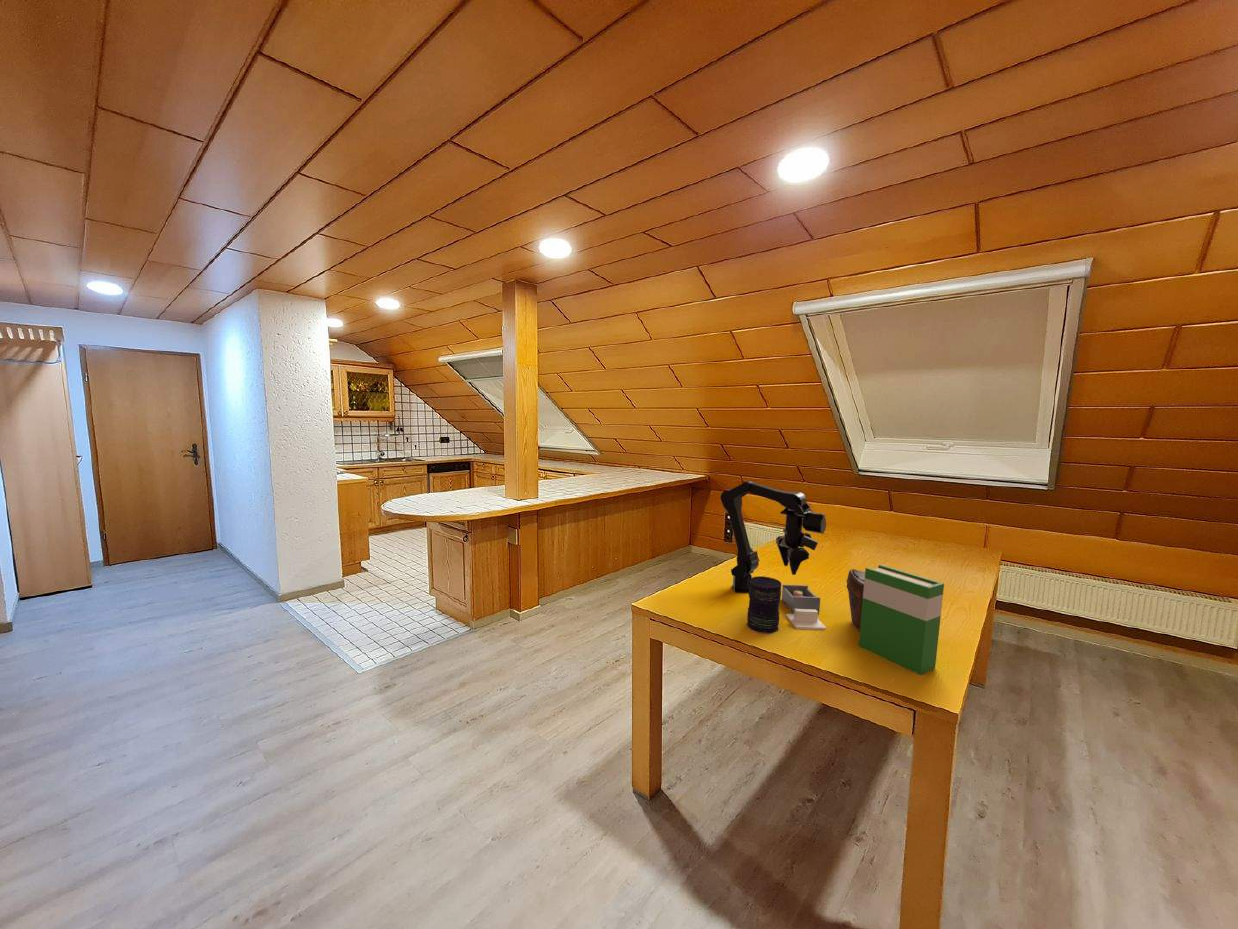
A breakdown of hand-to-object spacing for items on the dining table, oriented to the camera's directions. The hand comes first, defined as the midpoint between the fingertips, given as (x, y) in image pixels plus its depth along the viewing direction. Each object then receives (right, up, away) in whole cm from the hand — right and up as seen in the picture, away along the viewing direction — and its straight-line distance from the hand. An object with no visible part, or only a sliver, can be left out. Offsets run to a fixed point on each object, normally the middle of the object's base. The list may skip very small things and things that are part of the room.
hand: (789, 570), depth 174 cm
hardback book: (+17, -17, -36) cm, 43 cm away
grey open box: (+3, -13, -2) cm, 13 cm away
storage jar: (-15, -14, -19) cm, 28 cm away
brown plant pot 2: (+22, -15, -17) cm, 31 cm away
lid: (0, -15, -15) cm, 21 cm away
